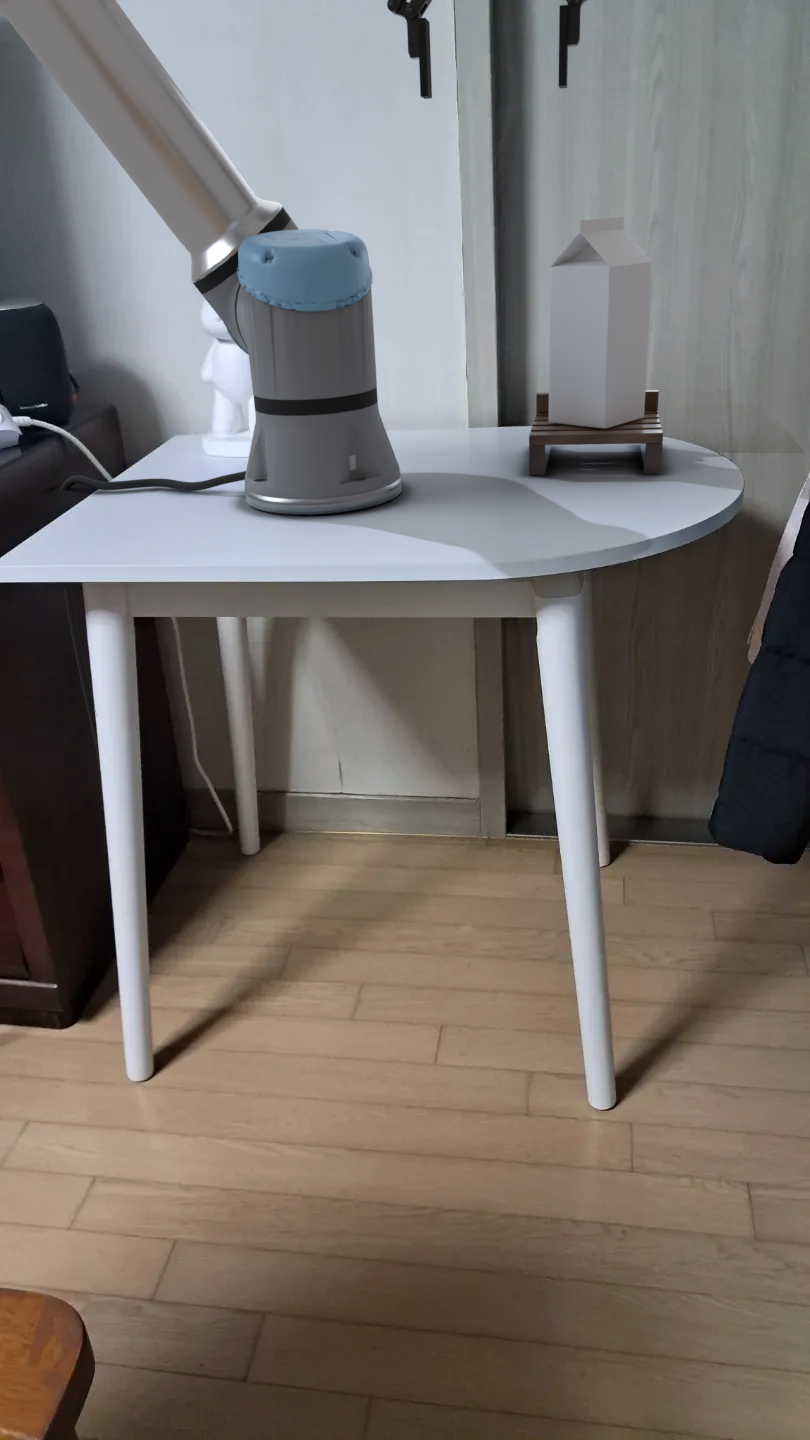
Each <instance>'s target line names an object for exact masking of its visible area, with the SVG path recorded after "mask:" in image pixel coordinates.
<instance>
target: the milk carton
mask: <svg viewBox="0 0 810 1440" xmlns="http://www.w3.org/2000/svg"><path fill="white" fill-rule="evenodd" d="M578 228H579V229H578V231H579V232H578V234H577V235H576V236H575V237H574V238H573V240H572V241H570V243H569V244H568V245H567V247H566V248H565V249H564V250H563V251H562V252H561V253H560V255H559V256H557V258H556V259H555V260H554V261H553V263H552V264H551V265H550V268H549V272H550V273H549V334H548V335H549V337H548V338H549V339H548V342H549V343H548V347H549V349H548V393H549V422H551V423H559V424H567V425H576V426H585V427H594V428H603V429H606V428H610V427H613V426H617V425H620V424H623V423H627V422H630V421H634V420H637V419H640V418H643V417H644V408H645V390H646V389H647V388H646V387H647V365H648V347H649V346H648V345H649V329H650V328H649V326H650V305H651V288H652V285H651V284H652V265H653V260H651V258H650V257H649V256H648V255H647V254H646V253H645V251H643V249H642V248H641V247H640V246H639V245H638V243H637V242H635V240H634V239H633V238H632V236H631V235H630V234H628V232H627V231H626V230H625V217H624V216H619V217H618V216H617V217H604V218H592V219H580V220H579V227H578Z"/></svg>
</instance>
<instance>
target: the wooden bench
mask: <svg viewBox="0 0 810 1440" xmlns="http://www.w3.org/2000/svg"><path fill="white" fill-rule="evenodd" d="M659 394H660V390H659V389H645V408H644V417H643V418H640V419H637V420H634V421H630V422H627V423H623V424H620V425H617V426H613V427H610V428H606V429H603V428H594V427H585V426H576V425H567V424H559V423H551V422H549V392H536V395H535V397H536V399H535V400H536V401H535V417H534V419H533V422H532V426H531V429H530V432H529V435H528V476H545V475H546V472H547V467H548V463H549V458H550V453H551V449H552V446H571V445H573V446H574V445H575V446H576V445H581V446H582V445H634V444H635V445H637V444H639V445H640V452H641V460H642V467H643V474H644V475H661V473H662V463H663V461H662V459H663V442H664V432H663V428H662V424H661V419H660V415H659V411H658V410H659V397H660V396H659Z"/></svg>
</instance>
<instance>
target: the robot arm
mask: <svg viewBox="0 0 810 1440" xmlns="http://www.w3.org/2000/svg"><path fill="white" fill-rule="evenodd" d="M587 1H589V0H565V2H566V4H561V5H559V13H558V14H559V19H558V21H559V22H558V24H559V25H558V88H559V89H568V71H569V70H568V69H569V65H568V64H569V48H572V47H578V46H579V43H580V41H581V11H582V7H583V5H584V3H586V2H587ZM432 2H433V0H410V1H408V0H387V4H386V7H387V10H388V11H389V12H391V13H392V14H393V15H394V16H397V17H401V18H403V19H405V21H406V31H407V53H408V55H409V58H410V59H411V60H413V61H415V60H418V65H419V92H420V93H419V94H420V98H422V99H424V100H429V99H433V87H432V85H433V83H432V58H431V57H432V56H431V55H432V53H431V29H430V28H431V27H430V26H431V25H430V24H431V23H430V21H429V20H428V19H427V18H426V17H423V16H424V14H425V13H426V11H427V9H428V8H429V6H430V4H431V3H432ZM0 16H1V17H3V18H4V19H7V21H8V22H9V23H10V25H11V26H12V27H13V29H14V30H15V31H16V32H17V34H18V35H19V36H20V37H21V39H22V40H23V42H24V43H25V44H26V45H27V47H28V48H29V49H30V51H31V52H32V53H33V54H34V56H35V57H36V58H37V60H38V62H40V64H41V65H42V66H43V68H44V69H45V70H46V71H47V72H48V74H49V75H50V76H51V78H52V79H53V80H54V81H55V83H56V84H57V85H58V86H59V88H60V89H61V91H62V92H63V93H64V94H65V96H66V97H67V98H68V100H69V101H70V102H71V103H72V105H73V106H74V107H75V109H76V110H77V111H78V112H79V113H80V115H81V117H83V119H84V120H85V121H86V123H87V124H88V125H89V126H90V128H91V129H92V130H93V132H94V133H95V134H96V136H97V137H98V138H99V139H100V141H101V142H102V143H103V144H104V146H105V147H106V148H107V150H108V151H109V152H110V154H111V155H112V157H114V159H115V160H116V161H117V163H118V164H119V165H120V167H121V168H122V169H123V170H124V172H125V173H126V175H127V176H128V177H129V178H130V179H131V181H132V183H134V184H135V186H136V187H137V188H138V190H139V192H141V194H142V195H143V196H144V197H145V199H146V200H147V201H148V203H149V204H150V205H151V206H152V208H153V209H154V210H155V212H156V213H157V214H158V216H159V217H160V218H161V219H162V220H163V222H164V223H165V224H166V226H167V227H168V229H169V230H170V231H171V233H173V235H174V236H175V238H176V239H177V240H178V241H179V243H180V244H181V245H182V246H183V248H184V249H185V250H186V252H187V253H188V254H189V258H190V272H189V273H190V275H189V279H190V282H191V283H192V284H193V285H194V286H195V288H196V289H197V291H198V292H199V293H200V295H201V296H202V297H203V299H205V301H206V302H207V303H208V305H209V306H210V307H211V308H212V310H213V311H214V312H215V314H216V315H217V316H218V317H219V319H220V320H221V321H222V324H223V325H224V326H225V327H226V330H227V333H228V335H229V337H230V338H231V339H232V341H233V342H234V344H235V345H237V346H238V348H239V349H240V350H242V352H244V353H245V354H246V355H248V361H249V369H250V379H251V386H252V387H251V388H252V395H253V404H254V413H255V423H254V428H253V433H252V437H251V438H252V439H251V444H250V450H249V454H248V460H247V463H246V470H243V471H239V472H235V473H229V474H225V475H220V476H217V477H214V478H210V479H206V480H202V481H183V480H177V479H172V478H141V479H140V478H139V479H130V480H129V479H128V480H116V481H103V480H97V479H94V478H90V477H88V476H86V475H81V474H75V475H71V476H69V477H67V479H66V480H65V481H64V482H63V483H62V485H61V487H60V488H59V489H60V491H67V490H70V489H71V488H72V487H73V486H74V485H77V484H79V485H83V486H87V487H88V488H93V489H96V490H101V491H117V490H130V489H140V488H141V489H142V488H168V489H169V488H170V489H176V490H181V491H187V492H188V491H189V492H191V491H203V490H208V489H212V488H215V487H218V486H223V485H226V484H232V483H236V482H241V481H244V492H245V493H244V494H245V501H246V503H247V505H249V506H251V507H252V508H254V509H257V510H259V511H262V512H267V513H275V514H285V515H323V514H336V513H345V512H351V511H356V510H361V509H366V508H370V507H371V508H372V507H374V506H378V505H381V504H384V503H387V502H390V501H391V500H393V499H395V498H396V497H397V496H399V495H400V494H401V493H402V489H403V488H402V487H403V485H402V473H401V469H400V465H399V462H398V460H397V457H396V454H395V452H394V448H393V447H392V442H391V441H390V439H389V436H388V433H387V430H386V428H385V425H384V423H383V419H382V417H381V414H380V410H379V401H378V381H377V363H376V344H375V330H374V328H375V327H374V313H373V295H372V285H373V271H372V268H371V266H370V258H369V251H368V248H367V245H366V244H365V242H364V240H362V238H360V237H359V236H358V235H355V234H353V233H351V232H346V231H341V230H328V229H322V228H321V229H317V228H316V229H314V228H308V229H307V228H303V229H302V228H301V229H299V228H298V227H299V226H297V224H296V222H294V220H293V219H292V218H291V216H290V215H289V213H288V212H287V211H286V210H285V208H284V207H283V205H282V203H281V202H278V201H272V200H268V199H267V200H266V199H263V198H260V197H258V196H257V195H256V194H255V192H254V191H253V190H252V188H251V187H250V185H249V184H248V183H247V181H246V180H245V179H244V177H243V176H242V174H241V173H240V171H238V169H237V167H236V166H235V164H234V163H233V162H232V161H231V159H230V157H228V155H227V153H226V151H224V149H223V147H222V146H221V145H220V144H219V142H218V141H217V139H216V138H215V137H214V135H213V134H212V132H211V131H210V129H209V128H208V127H207V125H206V124H205V123H204V122H203V120H202V119H201V117H200V116H199V114H198V113H197V112H196V110H195V109H194V107H193V106H192V105H191V103H190V102H189V100H188V99H187V98H186V96H185V95H184V94H183V92H182V90H181V89H180V88H179V86H178V85H177V84H176V82H175V80H174V79H173V78H172V77H171V76H170V74H169V73H168V71H167V70H166V69H165V66H163V64H162V63H161V62H160V60H159V59H158V57H157V56H156V55H155V53H154V51H153V50H152V48H150V46H149V45H148V43H147V41H146V40H145V39H144V38H143V36H142V35H141V34H140V32H139V30H138V29H137V28H136V27H135V25H134V24H133V22H132V21H131V19H130V18H129V17H128V15H127V14H126V13H125V11H124V10H123V9H122V7H121V5H120V4H119V3H118V1H117V0H0ZM63 591H64V597H65V603H66V604H65V605H66V611H67V618H68V623H69V629H70V634H71V639H72V644H73V650H74V654H75V660H76V665H77V669H78V673H79V678H80V682H81V687H82V692H83V697H84V701H85V705H86V710H87V714H88V719H89V723H90V728H91V733H92V736H93V741H94V745H95V750H96V754H97V758H98V760H99V753H98V744H97V733H96V723H95V713H94V707H95V703H94V699H93V694H92V689H91V686H90V681H89V676H88V671H87V666H86V661H85V656H84V651H83V646H82V641H81V636H80V631H79V624H78V618H77V613H76V607H75V600H74V593H73V588H63ZM93 703H94V704H93Z"/></svg>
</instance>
